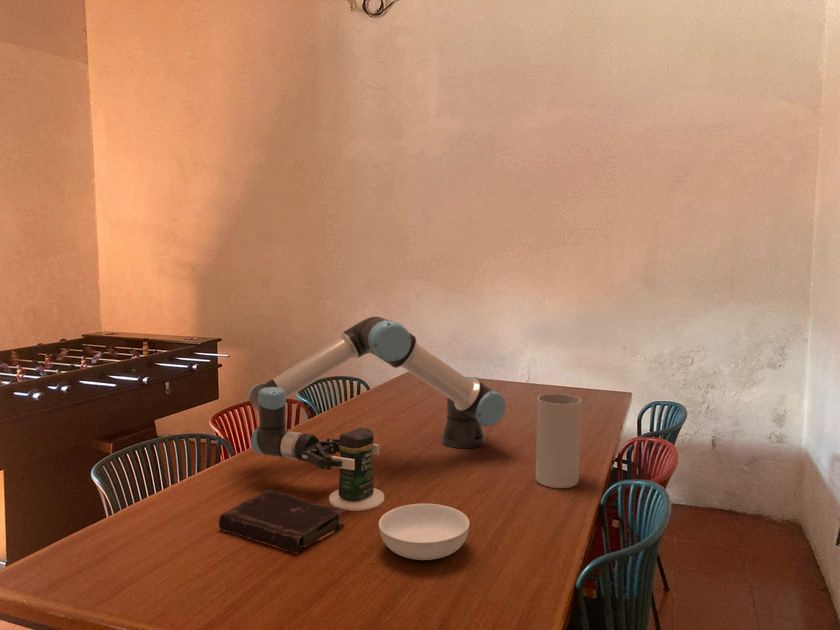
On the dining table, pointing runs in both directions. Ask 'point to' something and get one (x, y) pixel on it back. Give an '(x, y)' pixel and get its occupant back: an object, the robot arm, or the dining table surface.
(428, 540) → the serving bowl
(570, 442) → the cylinder vase
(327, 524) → the diary
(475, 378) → the robot arm
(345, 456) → the coffee jar
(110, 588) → the dining table surface
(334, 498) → the ceramic trivet
